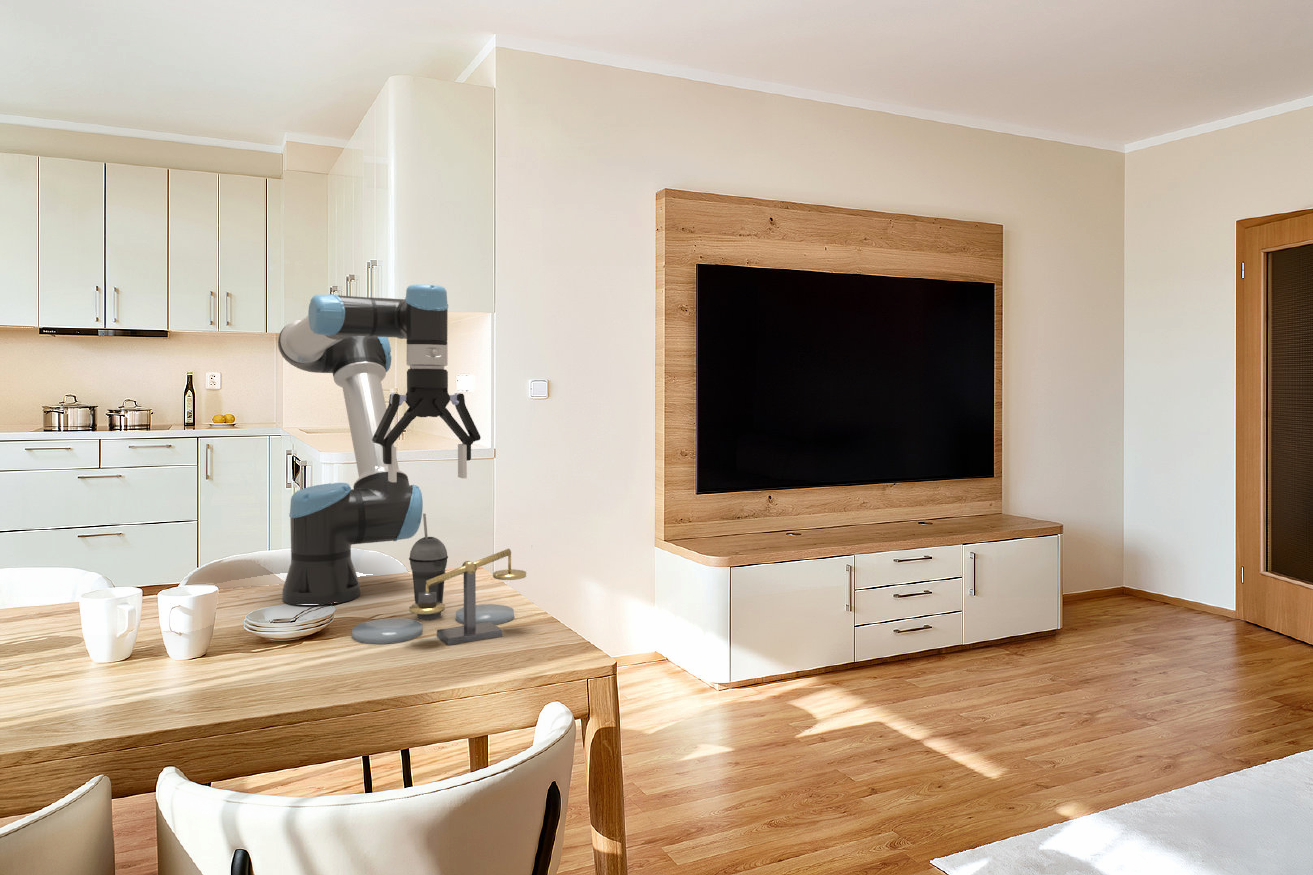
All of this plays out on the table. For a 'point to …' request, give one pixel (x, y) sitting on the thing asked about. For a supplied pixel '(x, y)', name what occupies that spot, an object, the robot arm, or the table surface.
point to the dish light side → (489, 614)
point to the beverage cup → (428, 567)
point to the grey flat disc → (387, 631)
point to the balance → (465, 601)
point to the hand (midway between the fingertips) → (428, 479)
